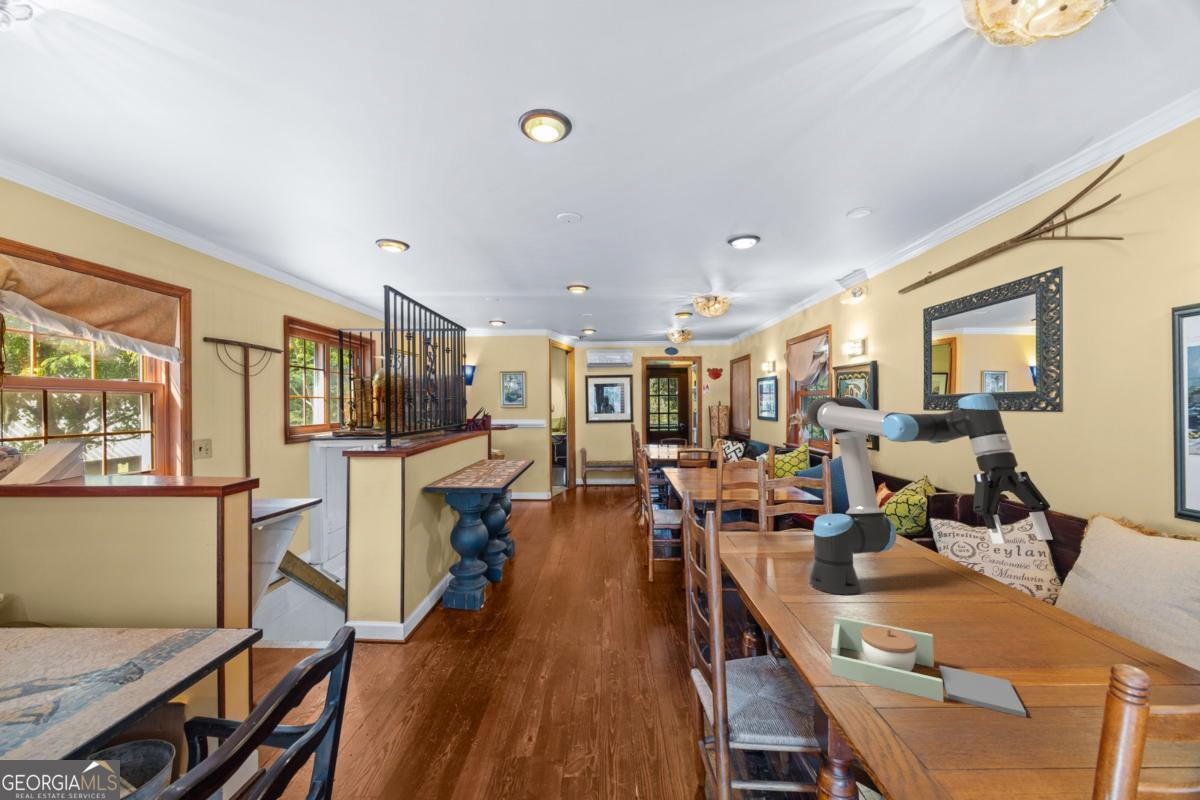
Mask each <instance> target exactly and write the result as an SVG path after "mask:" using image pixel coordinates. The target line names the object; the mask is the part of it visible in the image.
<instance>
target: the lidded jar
mask: <svg viewBox="0 0 1200 800" xmlns="http://www.w3.org/2000/svg"><path fill="white" fill-rule="evenodd" d="M861 637H862V648H863V652H862V653H863V655H864V657H865V660H866V662H869V663H873V664H878V665H882V666H887V667H891V668H896V669H900V670H904V671H909V672H912V670H913V669H914V668H915V664H916V663H915V661H916V648H917V645H916V641H915V640H914V639H913V638H912V637H911V636H910V635H908V634H906V633H904V632H902V631H899V630H896V629H893V628H888V627H883V626H868V627H865V628H863V629H862V630H861Z"/></svg>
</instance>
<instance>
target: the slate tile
mask: <svg viewBox="0 0 1200 800" xmlns="http://www.w3.org/2000/svg"><path fill="white" fill-rule="evenodd" d="M938 667H939V671H940V675H941V679H942V681H943V688H944V689H945V693H946V696H947V697H946V698H947V699H948V700H952V701H957V702H960V703H965V704H968V705H973V706H976V707H981V708H985V709H988V710H993V711H997V712H1001V713H1005V714H1010V715H1014V716H1018V717H1023V718H1027V712H1026V710H1025V708H1024V706H1023V704H1022V702H1021V701H1020V698H1019V697H1018V695H1017V693H1016V691H1015V690H1014V687H1013V686H1012V684H1011V682H1010V680H1009V679H1006V678H999V677H995V676H991V675H986V674H981V673H978V672H971V671H968V670H963V669H958V668H955V667H954V668H953V667H949V666H946V665H945V666H944V665H939V666H938Z"/></svg>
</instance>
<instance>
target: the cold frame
mask: <svg viewBox="0 0 1200 800" xmlns="http://www.w3.org/2000/svg"><path fill="white" fill-rule="evenodd" d="M833 618H834V619H833V621H834V622H833V623H834V625H833V632H832V639H831V647H830V650H831V651H830V652H831V655H830V662H831V663H830V667H831V668H830V670H831V671H830V672H831V673H830V674H831V676H835V677H841V678H843V679H849V680H852V681H857V682H860V683H865V684H869V685H873V686H877V687H880V688H884V689H888V690H892V691H897V692H900V693H901V692H902V693H904V694H908V695H914V696H916V697H920V698H926V699H929V700H933V701H937V702H941V703H944V683H943V680H942V678H939V677H934V676H930V675H926V674H921V673H918V672H913V671H911V672H909V671H904V670H900V669H896V668H891V667H887V666H882V665H878V664H873V663H869V662H868V661H864V660H859V659H855V658H851V657H846V656H842V655H840V654H841V648H844V649H848V650H853V651H857V652H862V653H864V652H863V648H862V637H861V630H862V629H863V628H865V627H868V626H883V627H888V628H893V629H896V630H899V631H902V632H904V633H906V634H908V635H910V636H911V637H912V638H913V639H914V640H915V641H916V645H917V648H916V661H915V664H917V665H921V666H926V667H929V668H930V667H931V668H934V667H935V662H934V636H933V633H927V632H923V631H916V630H911V629H908V628H902V627H896V626H891V625H885V624H881V623H880V624H879V623H875V622H869V621H866V620H865V621H864V620H859V619H852V618H850V617H849V618H848V617H843V616H838V615H834V616H833Z"/></svg>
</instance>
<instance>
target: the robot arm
mask: <svg viewBox="0 0 1200 800" xmlns="http://www.w3.org/2000/svg"><path fill="white" fill-rule="evenodd" d="M957 403H958V406H957V407H958V408H957V409H954V410H950V411H947V412H943V413H905V412H904V413H903V412H895V411H894V412H893V411H886V410H879V409H878V410H877V409H876V410H875V409H873V407H872V405H871V404H870V402H869V401H867V400H865V399H864V398H862V397H856V396H840V397H839V396H838V397H837V396H836V397H835V396H834V397H829V396H828V397H827V396H825V397H819V398H816V399H815V400H813V401H812V402H811V403H810V404H809V406H808V407H807V411H806V417H807V420H808V422H809V423H810V424H811V425H812V426H813V427H814V428H817V429H818V430H819V429H820V430H828V431H830V430H831V431H832V436H833V437H834V438H835V439H836V440H838V445H839V451H840V456H841V457H840V458H841V462H842V463H841V464H842V469H843V473H844V474H843V475H844V481H845V487H846V493H847V499H848V504H849V508H848V510H846V511H845V514H844V513H826V514H821V515H819V516H817V517H816V518H815V519H814V521H813V530H812V531H813V545H814V551H813V553H814V554H813V555H814V562H813V564H812V568H811V571H810V573H809V576H808V577H809V584H810V583H811V584H812V585H813V586H814V587H816V588H818V589H820V590H823V591H826V592H825V593H827V592H829V594H832V593H835V594H834V595H839V594H844V596H845V595H846V596H848V595H849V594H851V595H856V594H859V592H861V582H860V580H859V576H858V574H857V572H856V569H855V567H854V555H858V554H869V553H871V554H873V553H876V554H878V553H879V554H880V553H882V552H888V551H889V550H891V549H892V548H893V546H895V543H896V540H897V529H896V526H895V523H893V522H892V520H891V519H890V518H889V517H887V516H885V510H883V509H882V508H881V507H879V506H878V499H877V494H876V487H875V482H874V479H873V478H874V477H873V473H872V467H871V460H870V456H869V450H868V449H869V448H868V444H867V439H866V438H867V436H868V435H872V436H876V437H877V436H878V437H881V438H882V437H883V438H886V439H887V440H889V441H890V442H894V443H895V442H897V443H908V442H928V443H931V444H935V445H936V444H941V443H943V444H944V443H948V442H951V441H954V440H959V439H960V438H964V437H968V438H969V442H970V445H971V448H972V449H971V450H972V452H973V455H975V456H976V458H975V460H976V463H977V466H978V470H979V471H980V472H982V473H977V474H974V475H973V479H974V484H975V485H974V493H973V494H974V495H973V506H972V511H973V513H975V514H977V515H978V516H980V517H983V520H984V523H985V524H984V525H985V527H986V529H987V530H988V533H989V536H990V538H991V542H992V544H993V545H994V544H995V545H997V544H1007V543H1008V542H1007V539H1006V535H1005V533H1004V530H1003V526H1002V524H1001V521H1000V517H999V515H998V514H995V511H996V508H997V506H998V505H997V504H998V503H999V500H1000V496H1001V493H1003V492H1009V493H1011V494H1013V495H1014V496H1016V498H1017V499H1018V500H1019V501H1020V502H1022V503H1023V504H1024V506H1026V507H1027V508H1028V509H1029V510H1030V511H1031V512H1029V516H1030V520H1031V523H1032V524H1033V525H1032V526H1033V528H1034V531H1035V534H1036V537H1037V540H1039V541H1045V540H1047V541H1049V540H1051V541H1052V540H1054V538H1053V535H1052V533H1051V530H1050V527H1049V522H1048V519H1047V516H1046V514H1045V513H1046V512H1048V511H1049V510H1050V509H1051V505H1050V503H1049V501H1048V500H1047V499H1046V498H1045V497H1044V496H1043V494H1042V493H1041V491H1040V490H1039V489H1038V487H1037V486H1036V485H1035V484H1034V482H1033V481H1032V480H1031V478H1030V475H1029V473H1028V471H1026V470H1025V471H1017V472H1016V470H1015V469H1016V468H1017V467H1018V466H1019V465H1018V462H1017V459H1016V455H1015V453H1013V452H1011V451H1012V449H1013V447H1012V445H1011V442H1010V439H1009V437H1008V434H1007V433H1008V432H1007V430H1006V429H1005V425H1004V423H1003V418H1002V416H1001V413H1000V412H1001V411H1000V408H999V407H998V405H997V402H996V400H995V397H994V396H993V395H992V394H990V393H987V392H986V393H983V392H982V393H974V394H969V395H966V396H963V397H961V398H960V399H959V400H958V401H957ZM814 587H813V588H814ZM816 588H815V589H816ZM818 589H817V590H818ZM820 590H819V591H820ZM823 591H822V592H823ZM855 593H856V594H855ZM849 596H850V595H849Z"/></svg>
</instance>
